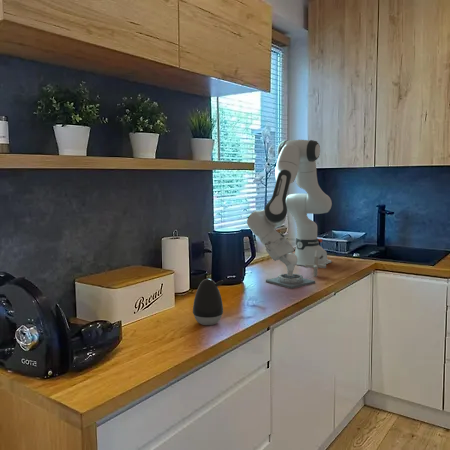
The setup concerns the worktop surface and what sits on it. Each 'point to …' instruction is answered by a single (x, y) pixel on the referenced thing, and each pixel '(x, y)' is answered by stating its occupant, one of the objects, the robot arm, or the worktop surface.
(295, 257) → the lightbulb
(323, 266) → the pipe connector
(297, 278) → the collar board
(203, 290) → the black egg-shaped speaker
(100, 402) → the worktop surface
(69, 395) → the worktop surface
